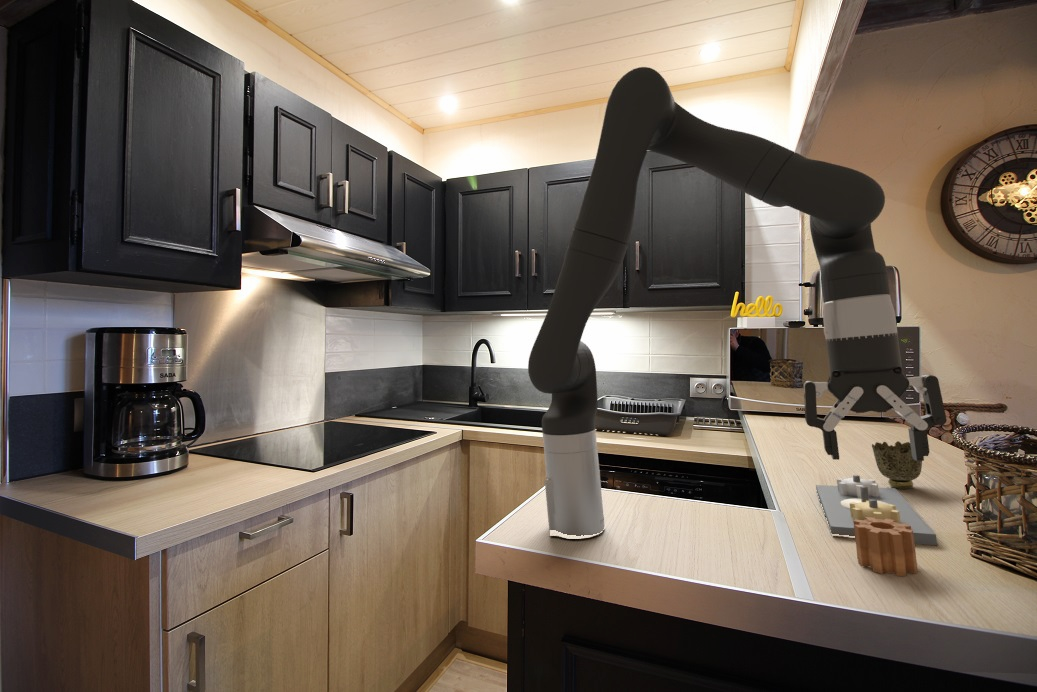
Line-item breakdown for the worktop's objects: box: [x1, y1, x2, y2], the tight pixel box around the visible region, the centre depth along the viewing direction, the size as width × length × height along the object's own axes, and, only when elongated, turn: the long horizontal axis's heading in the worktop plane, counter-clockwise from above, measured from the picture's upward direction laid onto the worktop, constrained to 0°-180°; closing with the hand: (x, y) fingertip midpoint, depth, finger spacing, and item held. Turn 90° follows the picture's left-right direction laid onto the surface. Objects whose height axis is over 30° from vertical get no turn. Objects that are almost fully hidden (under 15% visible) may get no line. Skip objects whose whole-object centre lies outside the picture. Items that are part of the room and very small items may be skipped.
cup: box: [871, 440, 923, 490], centre depth 87 cm, size 8×7×8 cm
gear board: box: [815, 474, 938, 546], centre depth 75 cm, size 22×12×4 cm, turn 152°
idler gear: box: [853, 517, 919, 577], centre depth 59 cm, size 6×6×5 cm
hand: (875, 459), depth 59 cm, fingers open, 8 cm apart
